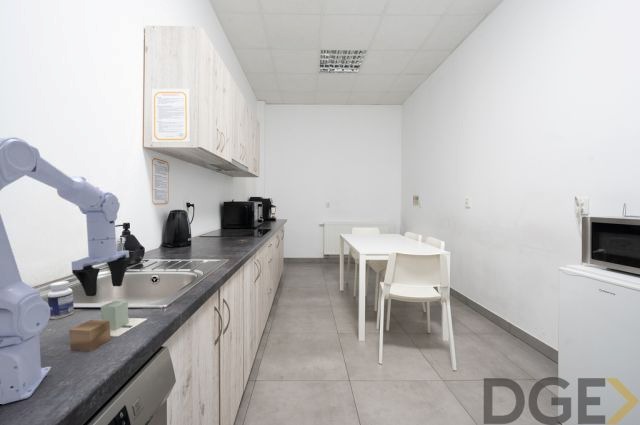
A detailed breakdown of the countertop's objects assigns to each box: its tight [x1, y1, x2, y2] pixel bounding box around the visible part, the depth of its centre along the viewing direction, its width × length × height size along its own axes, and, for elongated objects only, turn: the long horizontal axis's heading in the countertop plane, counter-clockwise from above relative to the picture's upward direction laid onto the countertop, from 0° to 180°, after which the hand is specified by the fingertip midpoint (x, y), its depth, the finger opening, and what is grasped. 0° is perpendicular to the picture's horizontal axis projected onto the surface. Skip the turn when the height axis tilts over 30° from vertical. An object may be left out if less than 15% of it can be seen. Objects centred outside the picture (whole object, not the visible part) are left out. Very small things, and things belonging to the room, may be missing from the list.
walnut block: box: [69, 319, 112, 352], centre depth 64 cm, size 5×5×5 cm
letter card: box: [110, 317, 148, 337], centre depth 73 cm, size 10×10×1 cm
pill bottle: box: [47, 280, 75, 320], centre depth 81 cm, size 5×5×10 cm
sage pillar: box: [100, 300, 130, 330], centre depth 73 cm, size 4×4×6 cm
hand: (104, 290), depth 72 cm, fingers open, 7 cm apart
